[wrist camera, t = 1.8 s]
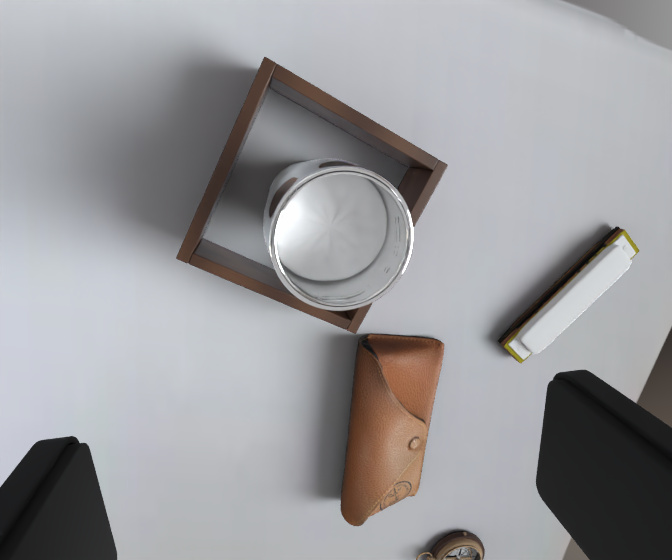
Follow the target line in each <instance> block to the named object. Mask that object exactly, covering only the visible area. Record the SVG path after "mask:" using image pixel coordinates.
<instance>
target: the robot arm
mask: <svg viewBox="0 0 672 560" xmlns="http://www.w3.org/2000/svg"><path fill="white" fill-rule="evenodd" d="M536 486H537V490H538V493H539V495H540V497H541V498H542V500H543V501H544V502H545V504H546V505H547V506H548V508H549V509H550V510H551V511H552V513H553V514H554V515H555V516H556V518H557V519H558V520H559V521H560V523H561V524H562V525H563V526H564V528H565V529H566V530H567V532H568V533H569V534H570V535H571V537H572V538H573V539H574V540H575V541H576V543H577V544H578V545H579V547H580V548H581V549H582V550H583V552H584V553H585V554H586V556H587V557H588V558H589V559H590V560H672V428H671V427H670V426H668V425H667V424H665V423H664V422H662V421H661V420H659V419H658V418H657V417H655V416H654V415H652V414H651V413H649V412H648V411H646V410H645V409H643V408H642V407H641V406H639V405H638V404H636V403H635V402H633V401H632V400H630V399H629V398H627V397H626V396H624V395H623V394H622V393H620V392H619V391H617V390H616V389H614V388H613V387H611V386H610V385H608V384H607V383H606V382H604V381H603V380H601V379H600V378H598V377H597V376H595V375H594V374H592V373H591V372H589V371H587V370H576V371H568V372H560V373H558V374H556V375H555V377H554V378H553V380H552V381H550V382H549V384H548V387H547V395H546V403H545V411H544V419H543V427H542V435H541V444H540V452H539V460H538V468H537V476H536ZM0 560H117V551H116V547H115V543H114V539H113V535H112V532H111V528H110V524H109V520H108V517H107V513H106V509H105V505H104V501H103V498H102V494H101V490H100V486H99V482H98V479H97V475H96V471H95V467H94V464H93V460H92V456H91V452H90V449H89V446H88V445H87V444H86V443H79V441H78V439H77V438H76V437H73V436H70V437H63V438H55V439H47V440H41V441H38V442H36V443H35V444H34V445H33V446H32V448H31V449H30V450H29V451H28V453H27V454H26V455H25V456H24V458H23V459H22V460H21V462H20V463H19V464H18V465H17V467H16V468H15V469H14V471H13V472H12V473H11V474H10V476H9V477H8V478H7V479H6V481H5V482H4V483H3V485H2V486H1V487H0Z"/></svg>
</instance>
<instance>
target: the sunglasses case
mask: <svg viewBox="0 0 672 560" xmlns="http://www.w3.org/2000/svg"><path fill="white" fill-rule="evenodd" d="M443 355H444V344H443V343H442V342H441V341H439V340H437V339H434V338H425V337H416V336H400V335H386V334H368V335H365V336H362V337H361V338H360V339H359V340H358V345H357V352H356V360H355V371H354V383H353V392H352V401H351V409H350V422H349V432H348V442H347V449H346V460H345V469H344V476H343V484H342V491H341V512H342V516H343V517H344V519H345V520H346V521H347V522H348V523H349V524H351V525H353V526H360V525H362V524H363V523H364V522H365V521H366V520H367V519H368V517H370V516H372V515H374V514H375V513H377V512H379V511H382V510H383V509H385V508H387V507H389V506H391V505H393V504H395V503H397V502H399V501H400V500H402V499H404V498H406V497H408V496H415V494H416V493H417V491H418V488H419V483H420V478H421V472H422V465H423V459H424V453H425V447H426V442H427V436H428V430H429V425H430V419H431V414H432V409H433V403H434V399H435V394H436V389H437V384H438V380H439V375H440V371H441V366H442V360H443Z"/></svg>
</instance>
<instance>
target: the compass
mask: <svg viewBox="0 0 672 560" xmlns="http://www.w3.org/2000/svg"><path fill="white" fill-rule="evenodd" d="M484 550H485V549H484V547H483V544H482V542H481V540H480V539H479V538H478V537H477V536H476V535H474V534H472V533H467V532H458V533H453V534H450V535H448V536H446V537H445V538H443V539H441V540H440V541H439V542H438V543H437V544H436V546H435V547H434V549H433V550H432V552H431V553H429V552H423V553H421V554H419V555H418V556H417V558H416V560H418V558H419V556H421V555H422V554H430V556H427V560H483V558H484Z"/></svg>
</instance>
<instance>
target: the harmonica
mask: <svg viewBox="0 0 672 560" xmlns="http://www.w3.org/2000/svg"><path fill="white" fill-rule="evenodd" d="M638 252H639V249H638V248H637V246H636V245H635V244H634V242H633V241H632V239H631V238H630V237H629V235H628V234H627V232H626V231H625V230H624V229H620V228H619V227H615V228H614V229H613V230H612V231H611V232H610V233H609V234H608V235H607V236H606V237H605V238H604V239H603V240H602V241H601V242H599V243H597V244H596V245H595V246H594V247H593V248H591V249H590V250H589V251H588V252H587V253H586V254H585V255H584V256H583V257H582V258H581V259H580V260H579V261H578V262H577V263H576V264H575V265H574V266H573V267H572V268H571V269H570V270H569V271H568V272H567V273H565V274H564V275H563V276H562V277H561V278H560V279H559V280H558V281H557V282H556V283H555V284H554V285H553V286H552V287H551V288H550V289H549V290H548V291H547V292H546V293H545V294H544V295H543V296H542V297H541V298H540V299H539V300H538V301H536V302H535V303H534V304H533V305H532V306H531V307H530V308H529V309H528V310H527V311H526V312H525V313H524V314H523V315H522V316H521V317H520V318H519V319H518V320H517V321H516V322H515V323H514V324H513V325H512V327H511V329H509V330H508V331H507V332H506V333H505V334H504V335H503V336H502V337H501V338H500V339H499V340H498V342H499V343H500V344H501V345H502V346H503V347H504V348H505V349H506V350H507V351H508V352H509V354H510V355H511V356H512V357H513V358H514V359H516V360H517V361H518V362H519V363H522V362H523V361H524V360H526V359H527V358H528V357H529V356H530V355H531V354H532V353H533V354H538V353H539V352H541V351H542V350H543V349H545V348H546V347H547V346H548V345H549V344H550V343H551V342H552V341H553V340H554V339H555V338H556V337H557V336H559V335H560V334H561V333H562V332H563V331H564V330H565V329H566V328H567V327H568V326H569V325H570V324H571V323H572V322H573V321H574V320H575V319H576V318H578V317H579V316H580V315H581V314H582V313H583V312H584V311H585V310H586V309H587V308H588V307H589V306H590V305H591V304H592V303H593V302H594V301H595V300H596V299H598V298H599V297H600V296H601V295H602V294H603V293H604V292H605V291H606V290H607V289H608V288H609V287H610V286H611V285H612V284H613V283H614V282H615V281H617V280H618V279H619V278H620V277H621V276H622V275H623V274H624V273H625V272H626V271H627V269H628V268H629V267H630V265H631V259H632V258H633V257H634V256H635V255H636V254H637V253H638Z"/></svg>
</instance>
